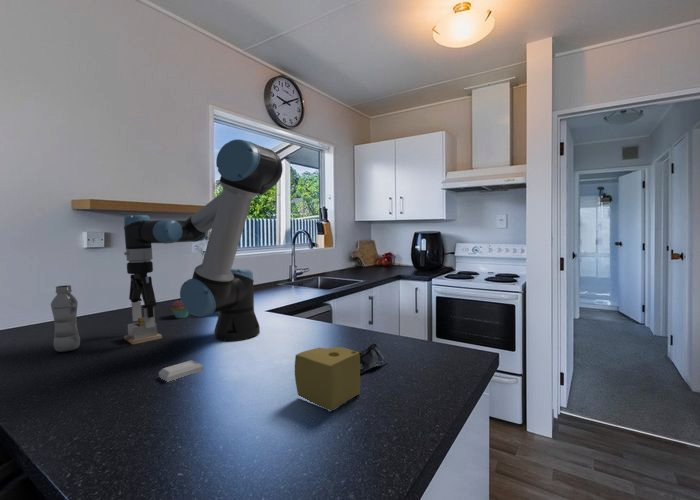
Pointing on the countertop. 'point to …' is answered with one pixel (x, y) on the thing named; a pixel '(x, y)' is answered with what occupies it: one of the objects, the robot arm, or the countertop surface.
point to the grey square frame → (141, 331)
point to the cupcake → (179, 309)
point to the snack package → (370, 357)
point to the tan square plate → (142, 322)
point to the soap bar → (180, 370)
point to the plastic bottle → (65, 320)
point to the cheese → (328, 375)
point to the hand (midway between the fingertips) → (143, 323)
